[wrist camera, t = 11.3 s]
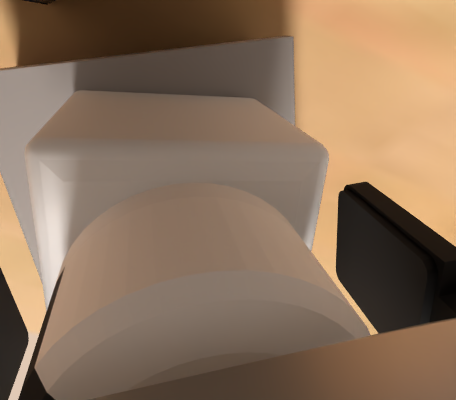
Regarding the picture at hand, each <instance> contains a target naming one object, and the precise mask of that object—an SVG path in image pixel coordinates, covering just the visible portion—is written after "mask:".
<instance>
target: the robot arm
mask: <svg viewBox="0 0 456 400" xmlns="http://www.w3.org/2000/svg"><path fill="white" fill-rule="evenodd" d="M336 273H337V276H338V279H339V280H340V282H341V283H342V285H343V286H344V287H345V289H346V290H347V291H348V293H349V294H350V295H351V297H352V298H353V299H354V301H355V302H356V304H357V305H358V306H359V308H360V309H361V310H362V312H363V313H364V314H365V316H366V317H367V318H368V320H369V321H370V322H371V324H372V325H373V326H374V328H375V329H376V330H377V332H378V333H379V334H375V335H370V336H366V337H361V338H357V339H352V340H348V341H343V342H339V343H334V344H330V345H325V346H321V347H316V348H312V349H308V350H303V351H299V352H294V353H290V354H286V355H281V356H277V357H273V358H268V359H264V360H259V361H255V362H251V363H246V364H242V365H238V366H233V367H229V368H225V369H220V370H216V371H211V372H207V373H203V374H198V375H194V376H189V377H185V378H181V379H176V380H172V381H168V382H163V383H159V384H154V385H150V386H146V387H141V388H137V389H132V390H128V391H124V392H119V393H115V394H110V395H106V396H102V397H97V398H93V399H88V400H456V247H455V246H454V245H452V244H451V243H450V242H448V241H447V240H446V239H444V238H443V237H441V236H440V235H439V234H437V233H436V232H435V231H433V230H432V229H431V228H429V227H428V226H426V225H425V224H424V223H422V222H421V221H420V220H418V219H417V218H416V217H414V216H413V215H412V214H410V213H409V212H407V211H406V210H405V209H403V208H402V207H401V206H399V205H398V204H397V203H395V202H394V201H392V200H391V199H390V198H388V197H387V196H386V195H384V194H383V193H382V192H380V191H379V190H377V189H376V188H375V187H373V186H372V185H371V184H369V183H368V182H362V183H356V184H350V185H346V186H345V188H344V191H340V193H339V197H338V224H337V251H336ZM27 345H28V331H27V329H26V326H25V324H24V322H23V319H22V317H21V315H20V312H19V310H18V308H17V305H16V303H15V301H14V298H13V296H12V294H11V291H10V289H9V287H8V284H7V282H6V280H5V277H4V275H3V273H2V270H1V268H0V400H8V398H9V396H10V393H11V390H12V387H13V384H14V382H15V379H16V376H17V373H18V371H19V368H20V365H21V362H22V359H23V356H24V354H25V351H26V348H27Z"/></svg>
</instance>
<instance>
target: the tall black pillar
mask: <svg viewBox="0 0 456 400" xmlns="http://www.w3.org/2000/svg"><path fill="white" fill-rule="evenodd" d="M24 1H29V2H35V3H41V4H46V5H47V4H48V3H49V4H50V3H52V2H54V1H56V0H24Z"/></svg>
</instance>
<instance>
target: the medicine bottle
mask: <svg viewBox="0 0 456 400" xmlns="http://www.w3.org/2000/svg"><path fill="white" fill-rule="evenodd" d="M24 154H25V162H26V169H27V176H28V184H29V191H30V198H31V205H32V212H33V219H34V226H35V233H36V240H37V247H38V254H39V262H40V269H41V276H42V283H43V290H44V297H45V304H46V311H47V312H46V315H45V318H44V321H43V324H42V327H41V331H40V334H39V337H38V340H37V343H36V346H35V349H34V352H33V356H32V359H31V362H30V365H29V368H28V371H27V374H26V377H25V380H24V384H23V387H22V390H21V393H20V396H19V399H18V400H88V399H93V398H97V397H102V396H106V395H110V394H115V393H119V392H124V391H128V390H132V389H137V388H141V387H146V386H150V385H154V384H159V383H163V382H168V381H172V380H176V379H181V378H185V377H189V376H194V375H198V374H203V373H207V372H211V371H216V370H220V369H225V368H229V367H233V366H238V365H242V364H246V363H251V362H255V361H259V360H264V359H268V358H273V357H277V356H281V355H286V354H290V353H294V352H299V351H303V350H308V349H312V348H316V347H321V346H325V345H330V344H334V343H339V342H343V341H348V340H352V339H357V338H361V337H366V336H370V333H369V331H368V328H367V326H366V325H365V324H364V322H363V321H362V320H361V318H360V317H359V316H358V314H357V313H356V312H355V310H354V309H353V308H352V306H351V305H350V304H349V302H348V301H347V299H346V298H345V297H344V295H343V294H342V293H341V291H340V290H339V289H338V287H337V286H336V285H335V283H334V282H333V281H332V279H331V278H330V277H329V275H328V274H327V273H326V271H325V270H324V269H323V267H322V266H321V264H320V263H319V262H318V260H317V259H316V258H315V256H314V255H313V254H312V252H311V250H312V245H313V240H314V234H315V229H316V224H317V219H318V214H319V208H320V203H321V198H322V193H323V188H324V182H325V177H326V172H327V167H328V161H329V154H328V151H327V150H326V148H325V147H324V146H323V145H322V144H321V143H319V142H318V141H316V140H315V139H313V138H312V137H310V136H309V135H307V134H306V133H305V132H303V131H302V130H300V129H299V128H297V127H296V126H294V125H293V124H291V123H290V122H288V121H287V120H285V119H284V118H282V117H281V116H279V115H278V114H276V113H275V112H273V111H272V110H271V109H269V108H268V107H266V106H265V105H263V104H262V103H260V102H259V101H257V100H256V99H253V98H242V97H220V96H198V95H176V94H154V93H132V92H110V91H89V90H80V91H76V92H75V93H74V94H73V95H72V96H71V97H70V98H69V99H68V100H67V101H66V102H65V103H64V104H63V105H62V107H61V108H60V109H59V110H58V111H57V112H56V113H55V114H54V115H53V116H52V117H51V119H50V120H49V121H48V122H47V123H46V124H45V125H44V126H43V127H42V128H41V129H40V131H39V132H38V133H37V134H36V135H35V136H34V137H33V138H32V139H31V140H30V141H29V143H28V144H27V145H26V147H25V153H24Z"/></svg>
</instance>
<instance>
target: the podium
mask: <svg viewBox="0 0 456 400" xmlns="http://www.w3.org/2000/svg"><path fill="white" fill-rule="evenodd" d="M80 90H89V91H110V92H132V93H154V94H176V95H198V96H220V97H242V98H253V99H256V100H257V101H259V102H260V103H262V104H263V105H265V106H266V107H268V108H269V109H271V110H272V111H273V112H275V113H276V114H278V115H279V116H281V117H282V118H284V119H285V120H287V121H288V122H290V123H291V124H293V125H294V126H295V98H294V42H293V37H292V36H278V37H270V38H261V39H252V40H244V41H235V42H226V43H218V44H209V45H200V46H191V47H183V48H174V49H165V50H157V51H148V52H139V53H131V54H122V55H113V56H105V57H96V58H87V59H79V60H70V61H61V62H53V63H44V64H35V65H27V66H18V67H9V68H1V69H0V173H1V175H2V178H3V181H4V183H5V186H6V189H7V191H8V194H9V196H10V199H11V202H12V204H13V207H14V210H15V212H16V215H17V218H18V220H19V223H20V226H21V228H22V231H23V234H24V236H25V239H26V242H27V244H28V247H29V250H30V252H31V255H32V257H33V260H34V263H35V265H36V268H37V271H38V273H39V276H40V279H41V281H42V276H41V269H40V262H39V254H38V247H37V240H36V233H35V226H34V219H33V212H32V205H31V198H30V191H29V184H28V176H27V169H26V162H25V154H24V153H25V147H26V145H27V144H28V143H29V141H30V140H31V139H32V138H33V137H34V136H35V135H36V134H37V133H38V132H39V131H40V129H41V128H42V127H43V126H44V125H45V124H46V123H47V122H48V121H49V120H50V119H51V117H52V116H53V115H54V114H55V113H56V112H57V111H58V110H59V109H60V108H61V107H62V105H63V104H64V103H65V102H66V101H67V100H68V99H69V98H70V97H71V96H72V95H73V94H74V93H75V92H76V91H80ZM42 284H43V283H42Z"/></svg>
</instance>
